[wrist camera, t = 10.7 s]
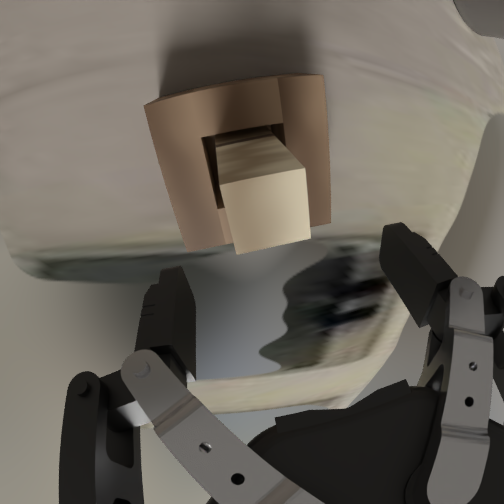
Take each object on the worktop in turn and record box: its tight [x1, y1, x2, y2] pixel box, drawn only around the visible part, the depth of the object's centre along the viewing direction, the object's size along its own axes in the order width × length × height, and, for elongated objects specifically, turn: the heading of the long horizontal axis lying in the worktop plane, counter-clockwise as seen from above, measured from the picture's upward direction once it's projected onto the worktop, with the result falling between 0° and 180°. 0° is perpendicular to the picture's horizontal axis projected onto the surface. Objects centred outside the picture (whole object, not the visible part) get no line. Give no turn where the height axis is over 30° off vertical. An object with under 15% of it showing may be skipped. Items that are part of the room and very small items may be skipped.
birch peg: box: [215, 126, 311, 255], centre depth 19 cm, size 4×4×12 cm
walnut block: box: [144, 73, 331, 252], centre depth 22 cm, size 12×12×6 cm
